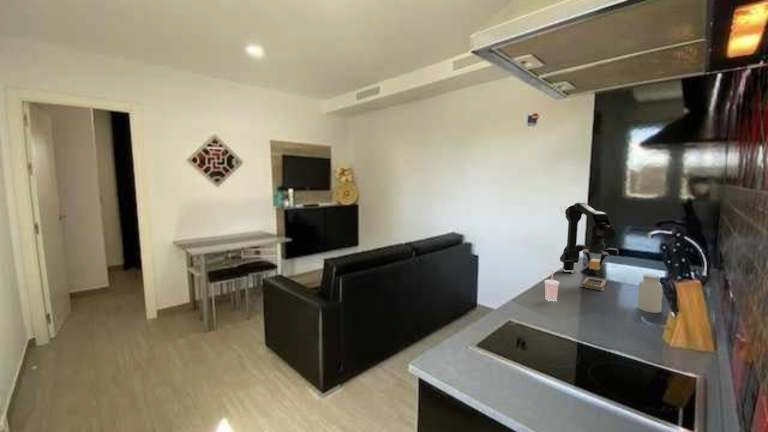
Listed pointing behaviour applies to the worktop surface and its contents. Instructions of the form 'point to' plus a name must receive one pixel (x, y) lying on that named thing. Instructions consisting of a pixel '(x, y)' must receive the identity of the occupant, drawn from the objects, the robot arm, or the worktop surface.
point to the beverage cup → (551, 289)
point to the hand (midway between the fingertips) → (595, 265)
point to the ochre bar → (594, 264)
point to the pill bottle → (650, 294)
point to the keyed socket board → (594, 285)
